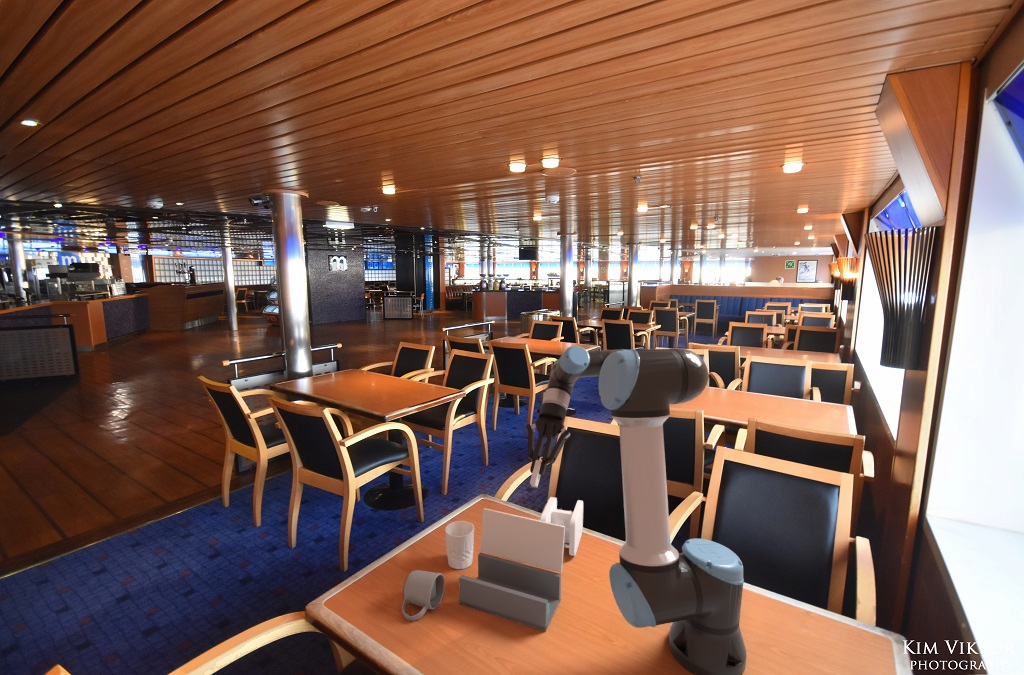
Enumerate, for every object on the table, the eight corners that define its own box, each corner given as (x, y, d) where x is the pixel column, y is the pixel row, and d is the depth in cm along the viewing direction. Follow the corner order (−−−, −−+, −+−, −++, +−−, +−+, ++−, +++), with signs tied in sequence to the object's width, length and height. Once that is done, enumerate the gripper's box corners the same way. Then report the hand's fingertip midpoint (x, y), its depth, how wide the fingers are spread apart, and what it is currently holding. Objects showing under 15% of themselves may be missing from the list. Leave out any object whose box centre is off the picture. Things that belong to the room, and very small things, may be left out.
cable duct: (560, 600, 116) (561, 574, 115) (545, 631, 106) (546, 603, 105) (480, 576, 124) (480, 552, 123) (459, 604, 114) (459, 577, 113)
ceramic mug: (416, 588, 120) (415, 560, 119) (445, 595, 117) (444, 567, 116) (393, 618, 110) (391, 588, 109) (424, 626, 107) (423, 596, 106)
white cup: (470, 572, 126) (469, 537, 125) (442, 569, 127) (441, 534, 126) (477, 555, 134) (477, 522, 132) (450, 552, 135) (450, 519, 134)
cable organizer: (574, 563, 130) (575, 523, 128) (537, 556, 133) (537, 517, 132) (583, 534, 144) (584, 498, 143) (549, 528, 147) (549, 493, 146)
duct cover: (561, 572, 115) (562, 571, 115) (564, 527, 115) (565, 526, 115) (480, 551, 123) (481, 550, 124) (483, 508, 123) (484, 508, 124)
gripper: (578, 416, 139) (559, 495, 126) (536, 410, 144) (514, 485, 131) (573, 403, 133) (553, 484, 121) (530, 398, 138) (507, 475, 126)
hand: (533, 485), depth 126 cm, fingers closed
